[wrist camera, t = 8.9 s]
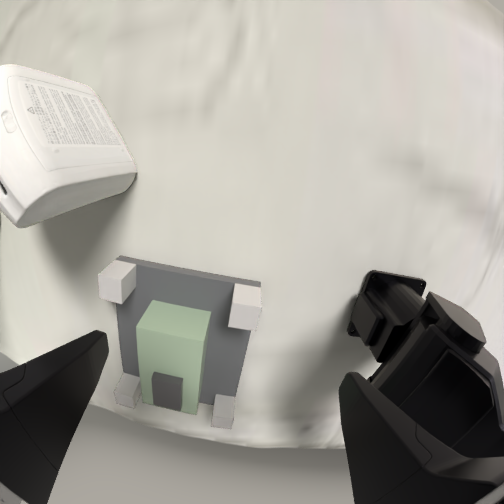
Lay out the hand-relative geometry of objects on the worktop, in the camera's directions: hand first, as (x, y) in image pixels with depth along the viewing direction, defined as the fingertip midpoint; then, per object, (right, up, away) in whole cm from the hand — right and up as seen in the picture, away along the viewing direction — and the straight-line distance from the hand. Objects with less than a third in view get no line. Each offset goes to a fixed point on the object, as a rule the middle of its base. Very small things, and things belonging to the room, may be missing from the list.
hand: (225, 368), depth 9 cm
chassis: (-6, -4, +15) cm, 17 cm away
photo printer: (-11, +13, +10) cm, 20 cm away
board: (-6, -4, +14) cm, 16 cm away
